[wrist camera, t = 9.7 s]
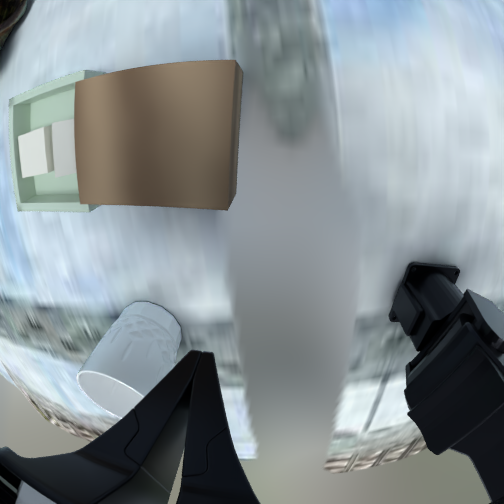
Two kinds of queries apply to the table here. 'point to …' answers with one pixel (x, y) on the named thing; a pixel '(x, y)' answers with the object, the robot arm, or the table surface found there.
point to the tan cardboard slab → (159, 135)
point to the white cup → (131, 358)
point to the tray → (34, 117)
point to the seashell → (10, 16)
